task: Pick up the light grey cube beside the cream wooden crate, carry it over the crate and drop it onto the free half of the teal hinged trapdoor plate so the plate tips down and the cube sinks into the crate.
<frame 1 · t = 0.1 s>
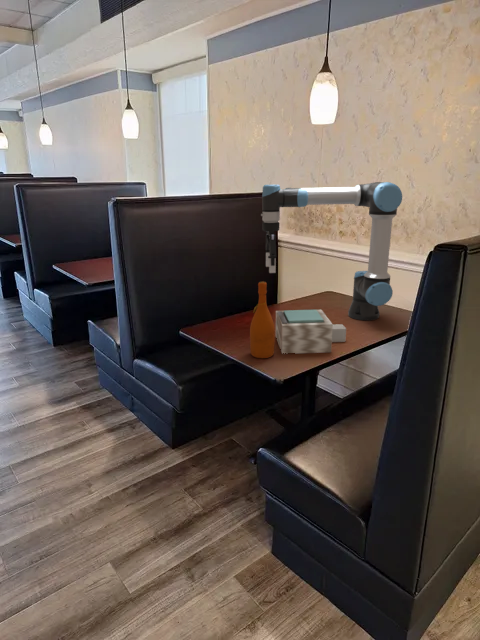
hand: (270, 269, 195), 28 cm above the table, fingers open, 13 cm apart
light grey cube: (336, 339, 188), on the table
wine bottle: (262, 355, 174), on the table
crate: (302, 343, 184), on the table
trapdoor: (302, 316, 180), point 12 cm above the table, hinge at 0.0°
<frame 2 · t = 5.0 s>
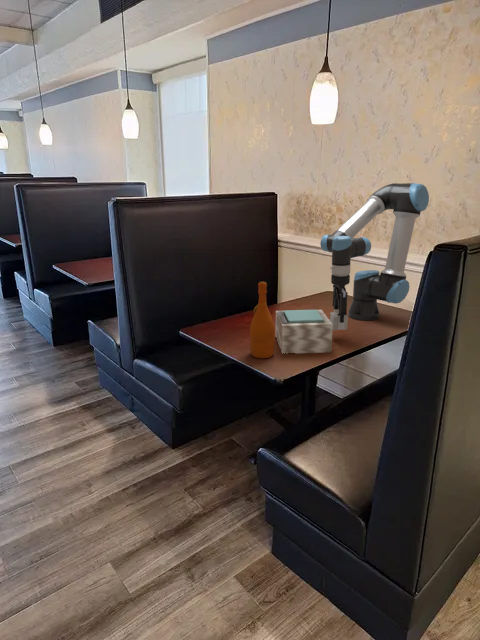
hand: (338, 326, 187), 6 cm above the table, fingers closed on light grey cube, 6 cm apart
light grey cube: (338, 327, 187), point 5 cm above the table, touching gripper
everything else where it was.
when the fingers open (14 cm above the table, at t = 7.0 s): light grey cube drops 6 cm, resting on crate, trapdoor.
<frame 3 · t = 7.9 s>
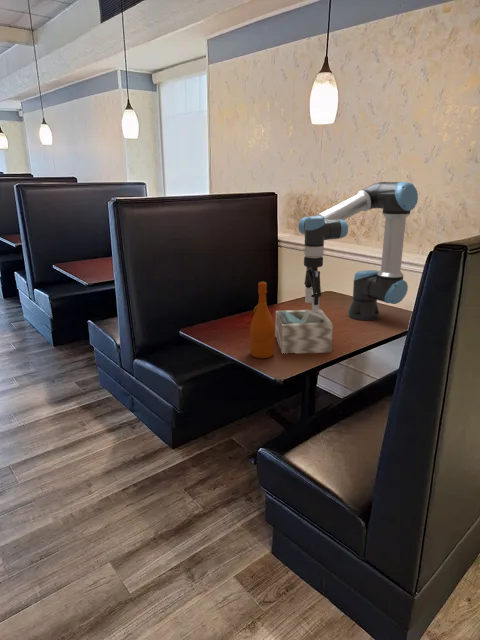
hand: (311, 307, 179), 16 cm above the table, fingers open, 13 cm apart
light grey cube: (308, 326, 182), point 8 cm above the table, tilted 23°, touching crate, trapdoor
trapdoor: (300, 324, 181), point 9 cm above the table, hinge at -31.4°, touching light grey cube
everything else where it was.
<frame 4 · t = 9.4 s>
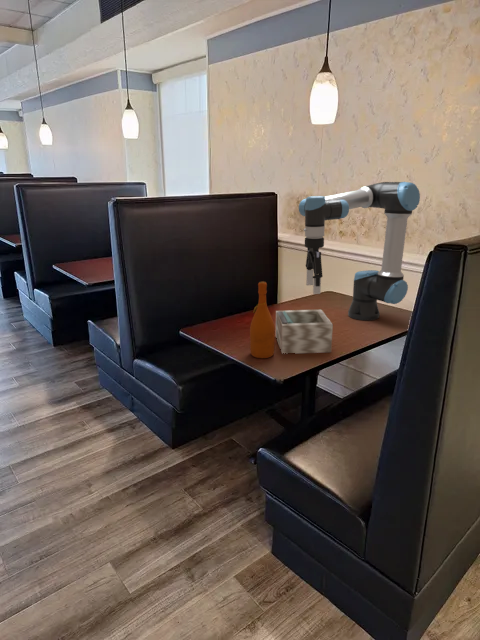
hand: (313, 289, 177), 24 cm above the table, fingers open, 13 cm apart
light grey cube: (304, 338, 183), point 3 cm above the table, tilted 61°, touching crate, trapdoor
trapdoor: (295, 329, 182), point 7 cm above the table, hinge at -54.6°, touching light grey cube
everything else where it was.
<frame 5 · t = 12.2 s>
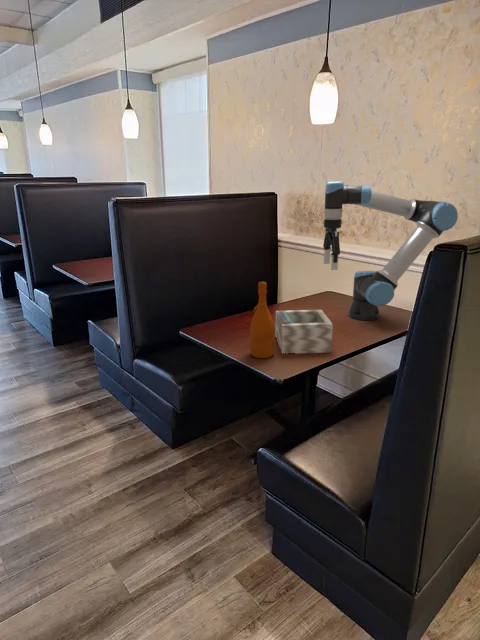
hand: (330, 266, 195), 29 cm above the table, fingers open, 13 cm apart
nothing on the table moved.
at the end: light grey cube point 2.6 cm above the table; light grey cube inside the target area on the crate (0.8 cm from its centre), point 2.6 cm above the crate's base; the gripper is holding nothing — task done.
